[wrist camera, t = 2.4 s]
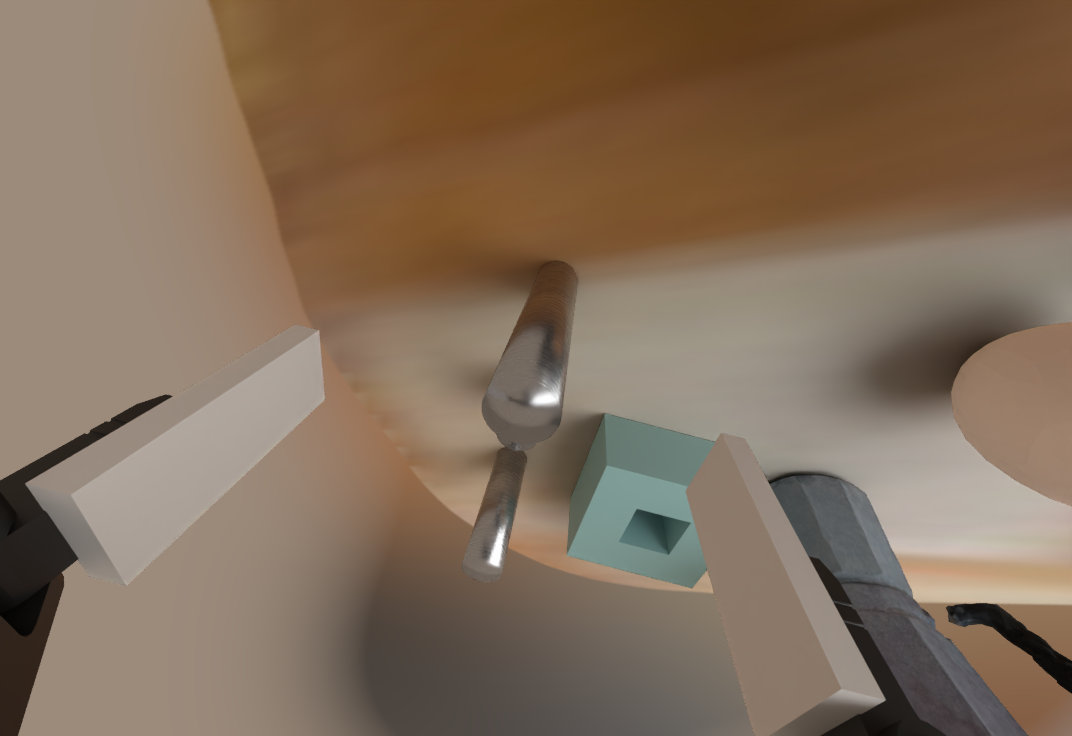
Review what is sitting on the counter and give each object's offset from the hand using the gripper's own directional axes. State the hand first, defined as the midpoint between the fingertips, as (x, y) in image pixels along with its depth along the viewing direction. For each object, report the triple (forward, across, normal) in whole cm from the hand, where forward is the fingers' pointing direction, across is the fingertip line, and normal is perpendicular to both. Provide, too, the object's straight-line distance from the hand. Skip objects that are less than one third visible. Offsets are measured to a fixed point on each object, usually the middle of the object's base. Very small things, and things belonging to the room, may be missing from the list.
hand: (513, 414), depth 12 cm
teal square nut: (+14, +11, -14) cm, 23 cm away
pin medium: (+14, 0, -16) cm, 21 cm away
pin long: (+14, 0, 0) cm, 14 cm away
